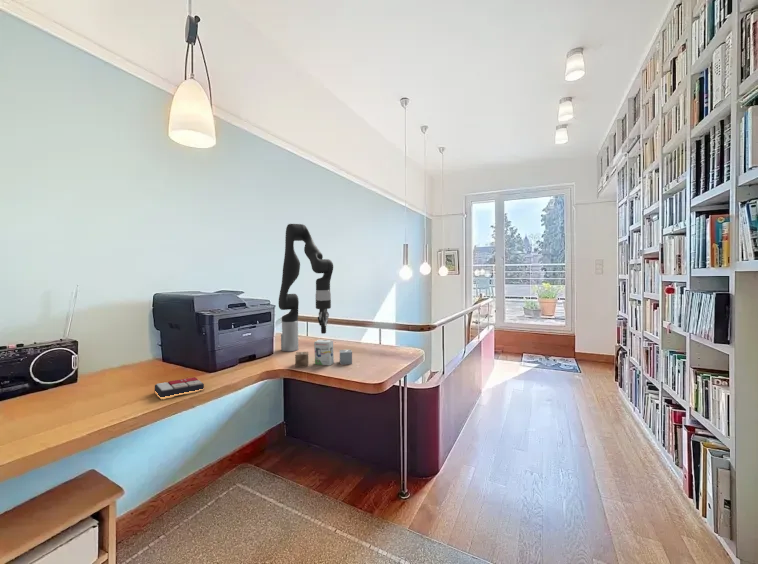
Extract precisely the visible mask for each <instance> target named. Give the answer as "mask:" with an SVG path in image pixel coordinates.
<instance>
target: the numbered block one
mask: <svg viewBox="0 0 758 564" xmlns="http://www.w3.org/2000/svg"><path fill="white" fill-rule="evenodd" d="M295 352H296V351H295ZM294 358H295V361H294V362H295V368H303V367H304V368H305V367H309V363H310V362H309V351H297V352H296V353H295V357H294Z"/></svg>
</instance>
